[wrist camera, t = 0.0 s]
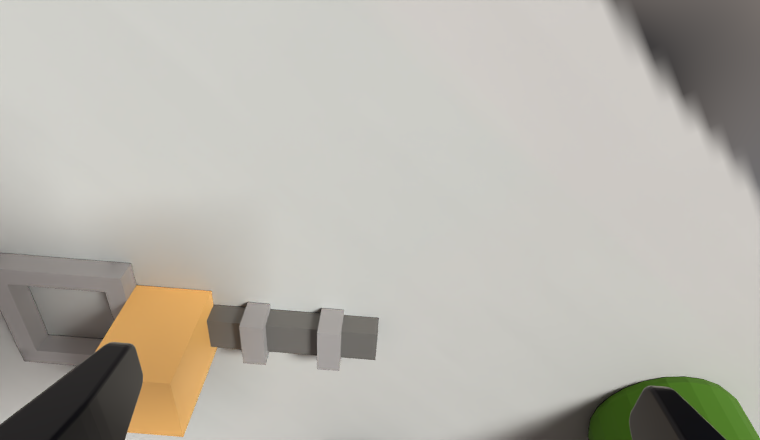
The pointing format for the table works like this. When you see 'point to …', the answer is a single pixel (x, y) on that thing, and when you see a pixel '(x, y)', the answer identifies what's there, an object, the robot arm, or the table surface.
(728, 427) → the wine bottle
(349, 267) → the table surface
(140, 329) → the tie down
